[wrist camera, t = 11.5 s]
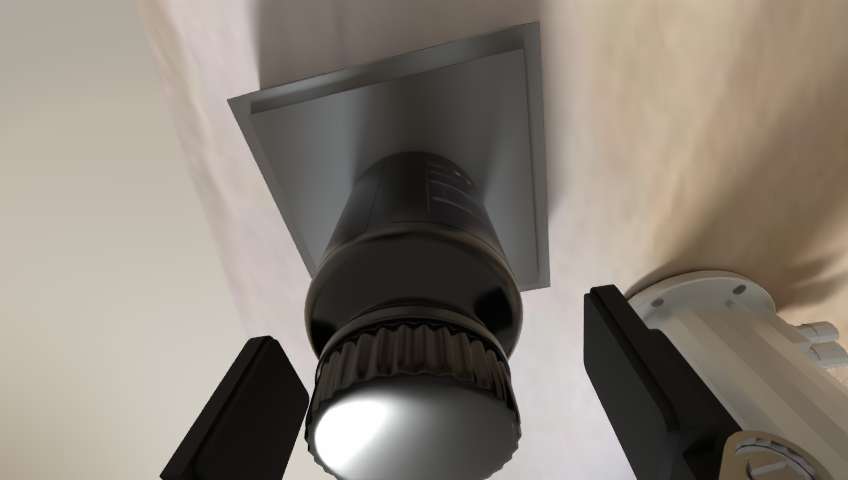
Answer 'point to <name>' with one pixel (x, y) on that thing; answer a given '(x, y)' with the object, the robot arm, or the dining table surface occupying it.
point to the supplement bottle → (413, 330)
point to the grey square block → (412, 137)
